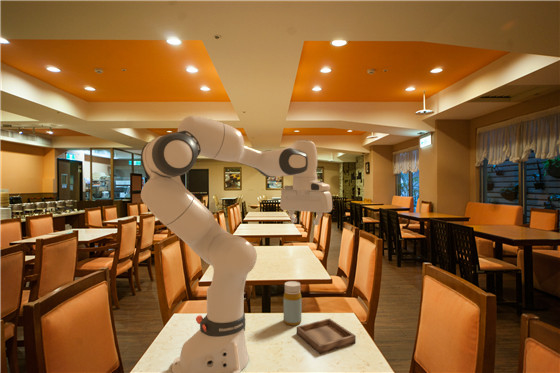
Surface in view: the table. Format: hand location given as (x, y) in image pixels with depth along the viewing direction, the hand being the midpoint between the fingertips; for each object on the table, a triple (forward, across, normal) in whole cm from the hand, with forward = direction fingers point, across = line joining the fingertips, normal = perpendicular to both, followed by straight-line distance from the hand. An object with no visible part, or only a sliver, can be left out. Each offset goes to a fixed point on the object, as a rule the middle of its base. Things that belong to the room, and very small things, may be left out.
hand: (305, 223), depth 109 cm
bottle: (+40, -8, +4) cm, 41 cm away
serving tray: (+40, +8, 0) cm, 40 cm away
